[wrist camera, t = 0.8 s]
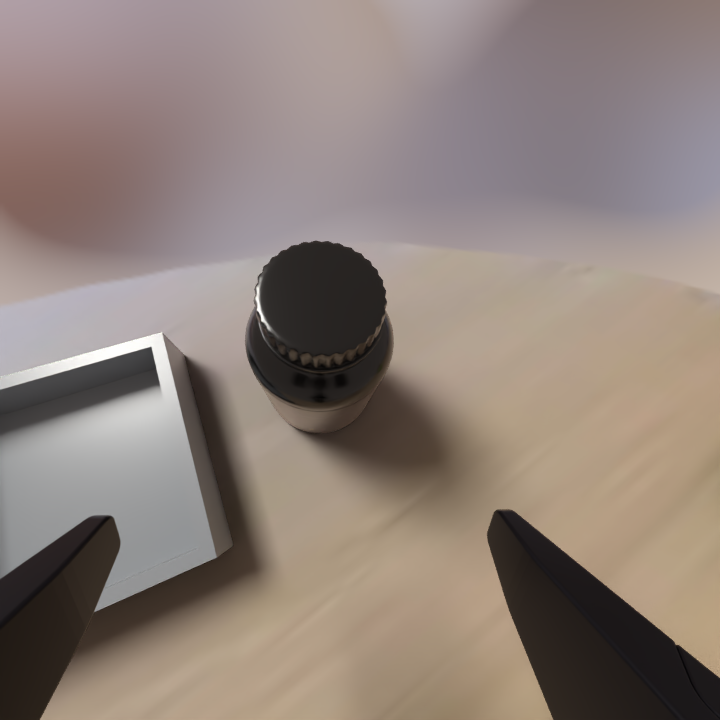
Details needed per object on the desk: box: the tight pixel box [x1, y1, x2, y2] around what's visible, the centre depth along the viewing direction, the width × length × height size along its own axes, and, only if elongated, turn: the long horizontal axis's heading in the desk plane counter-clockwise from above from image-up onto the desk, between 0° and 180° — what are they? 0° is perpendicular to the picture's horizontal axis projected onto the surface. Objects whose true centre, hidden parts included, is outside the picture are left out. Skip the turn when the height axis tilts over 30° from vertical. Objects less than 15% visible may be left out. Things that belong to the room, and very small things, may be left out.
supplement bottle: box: [245, 241, 394, 433], centre depth 18 cm, size 7×7×12 cm
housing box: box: [0, 332, 234, 612], centre depth 18 cm, size 12×12×4 cm
